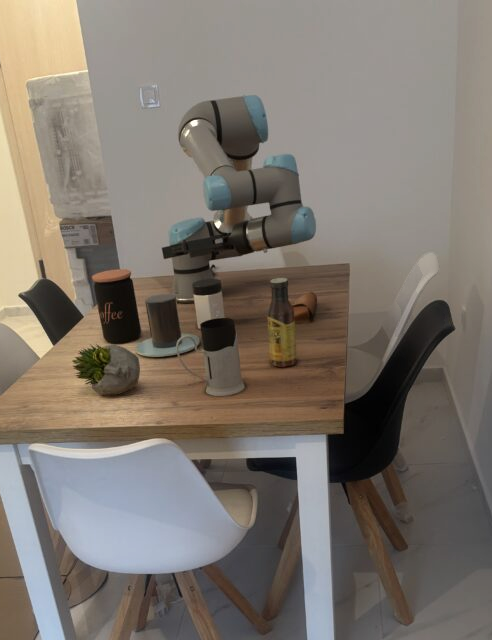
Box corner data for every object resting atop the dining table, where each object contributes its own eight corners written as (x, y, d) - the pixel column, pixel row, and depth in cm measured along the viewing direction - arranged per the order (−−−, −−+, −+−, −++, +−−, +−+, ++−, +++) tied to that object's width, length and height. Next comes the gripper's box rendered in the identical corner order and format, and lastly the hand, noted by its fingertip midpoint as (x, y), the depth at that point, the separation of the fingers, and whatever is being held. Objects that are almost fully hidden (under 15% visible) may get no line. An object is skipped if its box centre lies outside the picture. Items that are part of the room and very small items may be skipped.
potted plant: (140, 385, 171) (71, 379, 167) (133, 406, 183) (69, 400, 180) (141, 335, 174) (74, 328, 170) (134, 359, 186) (71, 352, 182)
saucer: (146, 340, 213) (145, 335, 212) (205, 336, 209) (205, 331, 209) (128, 360, 199) (127, 355, 198) (192, 357, 195) (191, 352, 194)
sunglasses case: (288, 304, 226) (298, 283, 223) (309, 314, 227) (320, 294, 223) (282, 322, 211) (293, 300, 207) (305, 333, 211) (317, 312, 208)
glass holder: (250, 389, 170) (243, 323, 163) (190, 404, 167) (180, 337, 159) (236, 378, 177) (229, 314, 170) (178, 392, 174) (168, 327, 167)
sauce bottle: (266, 363, 184) (258, 279, 175) (289, 357, 186) (283, 274, 176) (278, 370, 179) (271, 284, 169) (302, 364, 181) (296, 279, 171)
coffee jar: (96, 341, 217) (83, 277, 208) (125, 331, 223) (113, 267, 214) (121, 346, 210) (108, 280, 201) (149, 335, 216) (139, 270, 208)
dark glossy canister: (156, 339, 208) (149, 294, 202) (185, 337, 206) (179, 292, 200) (149, 349, 201) (141, 303, 195) (178, 347, 199) (171, 301, 193)
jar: (205, 331, 213) (200, 288, 207) (190, 326, 219) (185, 284, 214) (232, 323, 217) (227, 280, 211) (217, 318, 223) (212, 277, 217)
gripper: (232, 253, 175) (154, 270, 185) (274, 251, 196) (202, 266, 206) (226, 218, 173) (148, 237, 183) (270, 220, 194) (198, 237, 204)
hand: (177, 252), depth 195 cm, fingers open, 13 cm apart
